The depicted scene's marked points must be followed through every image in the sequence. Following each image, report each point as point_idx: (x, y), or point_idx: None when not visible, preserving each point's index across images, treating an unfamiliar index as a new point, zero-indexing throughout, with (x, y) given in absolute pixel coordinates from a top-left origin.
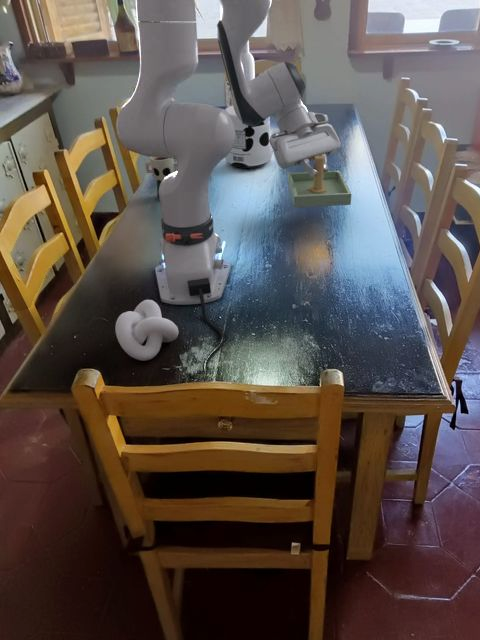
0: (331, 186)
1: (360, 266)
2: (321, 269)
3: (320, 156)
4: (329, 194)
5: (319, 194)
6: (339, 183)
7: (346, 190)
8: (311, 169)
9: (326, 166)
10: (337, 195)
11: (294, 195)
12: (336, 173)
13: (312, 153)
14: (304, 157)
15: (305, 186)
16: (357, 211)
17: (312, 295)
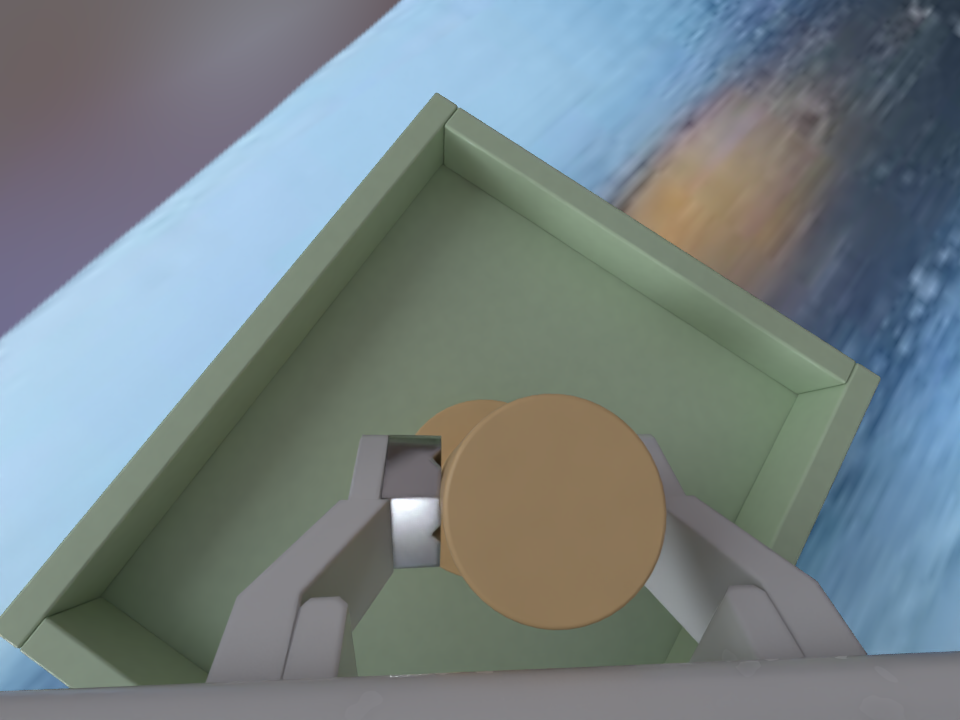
0: (321, 465)
1: (606, 34)
2: (750, 119)
3: (516, 514)
4: (597, 204)
5: (667, 263)
6: (201, 471)
7: (403, 177)
8: (679, 489)
9: (380, 464)
10: (540, 163)
11: (867, 397)
12: (71, 619)
13: (666, 712)
14: (921, 662)
15: (517, 644)
16: (159, 421)
17: (878, 27)
